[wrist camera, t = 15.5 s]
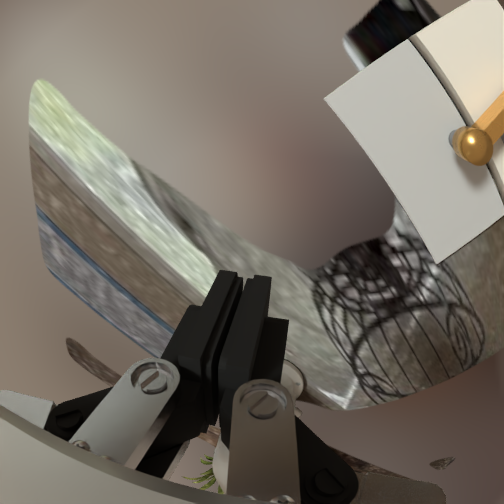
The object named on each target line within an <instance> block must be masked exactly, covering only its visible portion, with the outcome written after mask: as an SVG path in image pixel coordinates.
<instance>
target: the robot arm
mask: <svg viewBox="0 0 504 504" xmlns="http://www.w3.org/2000/svg"><path fill="white" fill-rule="evenodd" d="M271 279H272V277H268V276H261V275H254V278H253V279H250V278H247V281H246V284H245V287H244V290H243V277H238V275H237V272H232V271H225V270H220V271H219V273H218V275H217V277H216V279H215V281H214V283H213V285H212V287H211V289H210V291H209V293H208V295H207V297H206V299H205V301H204V303H203V305H202V306H196V305H190V306H189V307H188V308H187V310H186V312H185V314H184V316H183V318H182V319H181V321H180V323H179V325H178V327H177V329H176V330H175V332H174V334H173V336H172V338H171V340H170V341H169V343H168V345H167V347H166V349H165V351H164V353H163V354H162V356H161V358H148V359H143V360H140V361H138V362H136V363H135V364H133V365H132V366H131V367H130V368H129V369H128V371H126V373H125V374H124V375H123V376H122V377H121V379H120V380H119V381H118V382H117V383H116V385H115V386H113V387H110V388H107V389H104V390H101V391H98V392H95V393H92V394H89V395H86V396H82V397H79V398H75V399H72V400H69V401H65V402H63V403H61V404H58V405H56V404H55V403H54V401H51V400H46V399H42V398H37V397H33V396H29V395H25V394H21V393H17V392H13V391H10V390H1V391H0V504H446V495H445V493H444V491H443V489H442V488H440V487H439V486H438V485H437V484H433V483H430V482H424V481H417V480H410V479H403V478H397V477H392V476H386V475H381V474H376V473H371V472H368V473H367V474H361V473H357V472H354V470H353V469H352V468H351V467H350V466H349V465H348V464H347V463H346V462H345V461H344V460H342V459H341V458H340V457H339V456H338V455H337V454H336V453H335V452H334V451H333V450H331V449H330V448H329V447H328V446H327V445H326V444H325V443H324V442H323V441H322V440H321V439H320V438H319V437H317V436H316V435H315V434H314V433H313V432H312V431H311V430H310V429H309V428H308V427H307V426H306V425H305V424H304V423H303V422H302V421H301V420H300V419H299V418H298V417H300V416H301V415H302V411H300V410H299V409H298V408H296V407H295V401H296V399H297V398H298V397H299V396H300V394H301V393H302V390H303V384H304V382H303V377H302V374H301V372H300V371H299V370H298V369H297V368H296V367H295V366H294V365H293V364H291V363H290V362H288V361H286V360H284V355H285V348H286V340H287V332H288V325H289V320H286V319H279V318H272V317H268V308H269V299H270V289H271ZM218 415H219V423H220V427H221V433H220V437H219V440H218V444H217V447H216V450H215V454H214V458H213V463H212V467H213V473H214V476H215V478H216V480H217V482H218V483H219V485H220V487H221V489H222V490H223V492H224V493H225V494H219V493H214V492H209V491H205V490H201V489H196V488H192V487H189V486H185V485H181V484H178V483H174V482H171V481H169V479H170V477H171V476H172V474H173V472H174V470H175V469H176V467H177V465H178V463H179V462H180V460H181V458H182V457H183V455H184V453H185V451H186V449H187V448H188V445H189V443H190V439H193V438H195V437H197V436H199V435H200V432H202V433H207V430H208V427H209V425H213V426H215V424H216V421H217V418H218Z"/></svg>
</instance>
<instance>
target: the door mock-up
mask: <svg viewBox="0 0 504 504" xmlns="http://www.w3.org/2000/svg"><path fill="white" fill-rule="evenodd" d="M409 39H410V40H411V41H412V42H413V44H414V45H415V46H416V48H417V49H418V50H419V52H420V53H421V54H422V56H423V57H424V58H425V60H426V61H427V62H428V64H429V65H430V67H431V68H432V69H433V71H434V72H435V74H436V75H437V77H438V78H439V80H440V81H441V83H442V84H443V86H444V87H445V89H446V90H447V92H448V93H449V95H450V96H451V98H452V100H453V101H454V103H455V105H456V106H457V108H458V110H459V111H460V113H461V115H462V116H463V118H464V120H465V122H466V123H467V125H468V127H471V126H472V125H473V124H474V123H475V122H476V121H477V120H478V119H479V117H480V116H481V115H482V114H483V113H484V112H485V111H486V110H487V109H488V108H489V106H490V105H491V104H492V103H493V102H494V101H495V100H496V99H497V98H498V96H499V95H500V94H501V93H502V92H503V91H504V10H503V8H502V7H501V6H500V4H499V3H498V1H497V0H471V1H468V2H467V3H465V4H463V5H462V6H460V7H458V8H456V9H455V10H453V11H451V12H450V13H448V14H446V15H445V16H443V17H441V18H440V19H438V20H437V21H435V22H433V23H432V24H430V25H429V26H427V27H425V28H424V29H422V30H421V31H419V32H418V33H416V34H415V35H413V36H411V37H410V38H409ZM324 100H325V102H326V103H327V104H328V105H329V106H330V108H331V109H332V110H333V111H334V113H335V114H336V115H337V116H338V117H339V119H340V120H341V121H342V123H343V124H344V125H345V126H346V127H347V129H348V130H349V131H350V133H351V134H352V135H353V137H354V138H355V139H356V140H357V142H358V143H359V145H360V146H361V147H362V148H363V150H364V151H365V153H366V154H367V155H368V157H369V158H370V159H371V161H372V162H373V164H374V165H375V166H376V168H377V169H378V171H379V172H380V174H381V175H382V177H383V178H384V180H385V181H386V182H387V184H388V185H389V187H390V188H391V190H392V191H393V193H394V194H395V196H396V198H397V199H398V201H399V202H400V204H401V205H402V207H403V208H404V210H405V212H406V213H407V215H408V216H409V218H410V220H411V221H412V223H413V225H414V226H415V228H416V230H417V231H418V233H419V235H420V236H421V238H422V240H423V242H424V243H425V245H426V247H427V248H428V250H429V252H430V254H431V256H432V257H433V259H434V261H435V263H436V264H438V263H439V262H441V261H442V260H444V259H445V258H447V257H448V256H449V255H451V254H452V253H454V252H455V251H457V250H458V249H459V248H461V247H462V246H464V245H465V244H466V243H468V242H469V241H470V240H472V239H473V238H475V237H476V236H477V235H479V234H480V233H481V232H483V231H484V230H485V229H487V228H488V227H489V226H491V225H492V224H493V223H494V222H496V221H497V220H498V219H500V218H501V217H502V216H503V215H504V205H503V203H502V200H501V198H500V195H499V193H498V190H497V188H496V186H495V183H494V181H493V179H492V177H491V174H490V172H489V170H488V168H487V166H486V164H485V165H483V166H476V165H474V164H472V163H470V162H468V161H466V160H464V159H462V158H460V157H459V156H458V155H457V154H456V153H455V151H454V149H453V145H452V139H453V135H454V133H455V131H456V130H457V129H458V128H460V127H462V126H466V125H465V123H464V121H463V119H462V118H461V116H460V114H459V113H458V111H457V109H456V108H455V106H454V104H453V103H452V101H451V99H450V98H449V96H448V95H447V93H446V92H445V90H444V88H443V87H442V85H441V84H440V82H439V81H438V79H437V78H436V76H435V75H434V74H433V72H432V71H431V69H430V68H429V66H428V65H427V64H426V62H425V61H424V60H423V58H422V57H421V56H420V54H419V53H418V52H417V50H416V49H415V48H414V46H413V45H412V44H411V42H410V41H409V40H408V39H407V40H405V41H404V42H402V43H401V44H399V45H398V46H396V47H395V48H393V49H392V50H390V51H389V52H387V53H386V54H385V55H383V56H382V57H380V58H379V59H377V60H376V61H374V62H373V63H372V64H370V65H369V66H367V67H366V68H364V69H363V70H362V71H360V72H359V73H357V74H356V75H355V76H353V77H352V78H351V79H349V80H348V81H347V82H345V83H344V84H342V85H341V86H340V87H338V88H337V89H336V90H335V91H333V92H332V93H330V94H329V95H328V96H326V97H325V98H324ZM487 164H488V167H489V169H490V171H491V173H492V175H493V178H494V180H495V182H496V185H497V187H498V189H499V192H500V194H501V197H502V199H503V202H504V133H503V135H502V136H501V137H500V138H499V139H498V140H497V141H496V142H495V143H494V145H493V155H492V157H491V159H490V161H489V162H488V163H487Z"/></svg>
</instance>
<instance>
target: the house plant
mask: <svg viewBox="0 0 504 504" xmlns="http://www.w3.org/2000/svg"><path fill="white" fill-rule="evenodd" d="M215 450H216V449H215ZM214 454H215V451H214ZM205 457H206V458H207V459H208V460H212V461H213V458H212V457H208V456H206V455H205ZM201 462H202V463H203V464H206V465H207V464H212V463H213V462H207V461H204V460H202V459H201ZM202 474H204V475H205V474H207V475H205V476H203V477H200V478H187V477H184V478H186V479H190V480H198V479H201V480H199V481H197V482H194V483H200V482H202V481H204V480H206V479H207V478H208V477H209V476H211V475H214V473H213V467H212V468H211V469H210V470H208V471H206V472H205V473H202ZM213 477H214V478H213ZM213 477H211V478H213V479H212V480H211V481H210V482H208V483H207V484H206V485H204V486H203V487H201V488H200V489H201V490H205V489H207V488H209V487H210V486H211V485H212V484H214V483H215V481H216V478H215V476H213ZM211 478H209V479H211ZM209 479H207V480H209ZM218 493H219V494H223V493H224V492H223V490H222V489H221V487H220V485H219V487H218Z"/></svg>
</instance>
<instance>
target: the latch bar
mask: <svg viewBox="0 0 504 504" xmlns="http://www.w3.org/2000/svg"><path fill="white" fill-rule="evenodd" d="M503 133H504V91H503V92H502V93H501V94H500V95H499V96H498V98H497V99H496V100H495V101H494V102H493V103H492V104H491V105H490V106H489V108H488V109H487V110H486V111H485V112H484V113H483V114H482V115H481V116H480V117H479V119H478V120H477V121H476V122H475V123H474V124H473V125H472V126H471V127H468V126H462V127H460V128H458V129H457V130H456V131H455V133H454V135H453V139H452V145H453V149H454V151H455V153H456V154H457V155H458V156H459V157H460V158H462V159H464V160H466V161H468V162H470V163H472V164H474V165H476V166H483V165H485V164H487V163H488V162H489V161H490V159H491V157H492V155H493V145H494V143H495V142H496V141H497V140H498V139H499V138H500V137H501V136H502V135H503Z"/></svg>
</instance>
